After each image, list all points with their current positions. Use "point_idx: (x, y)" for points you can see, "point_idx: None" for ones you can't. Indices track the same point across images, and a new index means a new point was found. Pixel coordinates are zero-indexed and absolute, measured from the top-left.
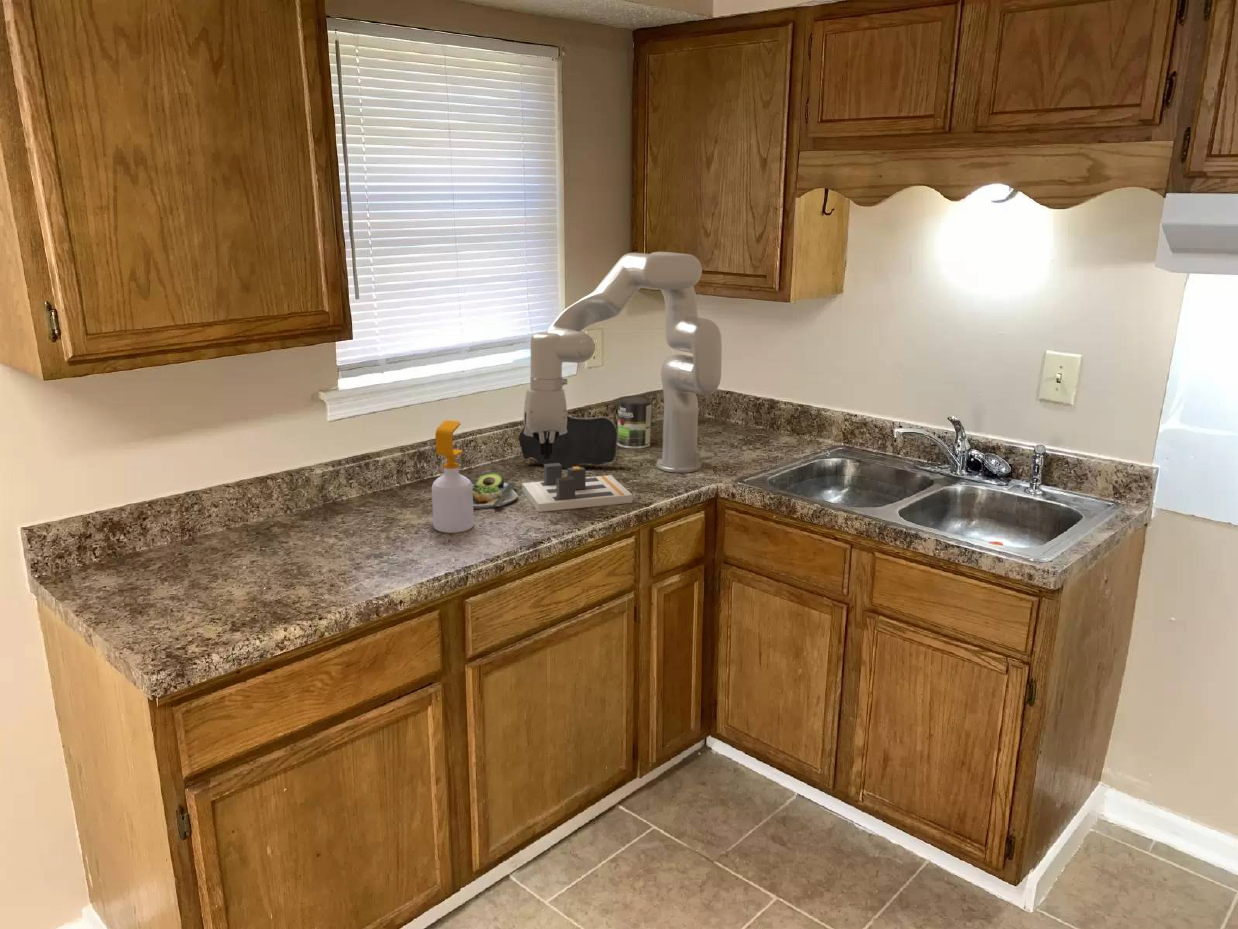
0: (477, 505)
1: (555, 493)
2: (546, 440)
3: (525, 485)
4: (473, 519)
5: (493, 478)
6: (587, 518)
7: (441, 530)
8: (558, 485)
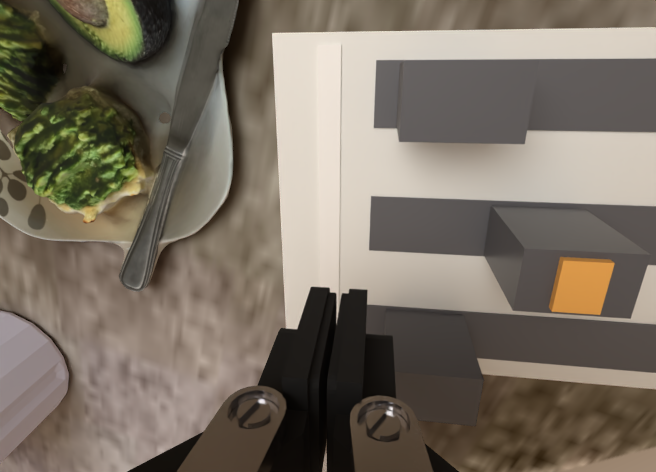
0: (63, 240)
1: (398, 261)
2: (333, 454)
3: (283, 84)
4: (55, 391)
5: None
6: (444, 443)
7: None
8: None
